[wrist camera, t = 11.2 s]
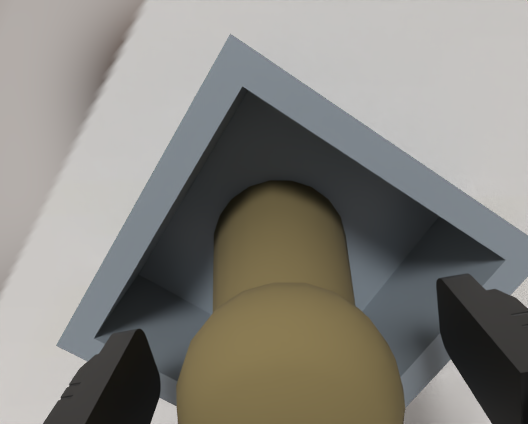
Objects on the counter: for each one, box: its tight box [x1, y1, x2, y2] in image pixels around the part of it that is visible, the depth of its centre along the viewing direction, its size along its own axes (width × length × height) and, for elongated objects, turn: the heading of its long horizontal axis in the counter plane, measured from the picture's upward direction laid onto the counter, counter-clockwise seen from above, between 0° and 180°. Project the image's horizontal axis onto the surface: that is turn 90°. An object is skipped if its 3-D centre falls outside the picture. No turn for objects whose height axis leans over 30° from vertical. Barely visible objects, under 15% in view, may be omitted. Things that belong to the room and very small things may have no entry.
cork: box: [176, 180, 405, 424], centre depth 13 cm, size 6×6×11 cm
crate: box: [56, 34, 528, 408], centre depth 16 cm, size 12×12×6 cm
